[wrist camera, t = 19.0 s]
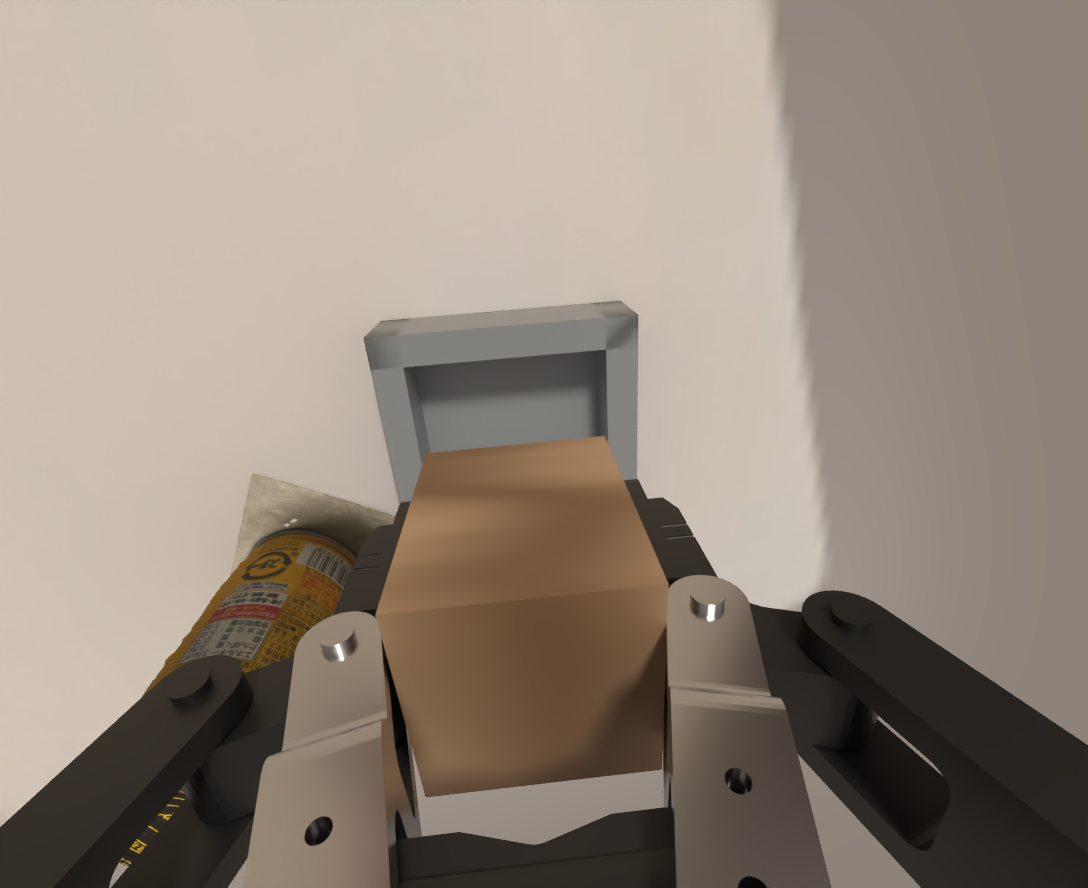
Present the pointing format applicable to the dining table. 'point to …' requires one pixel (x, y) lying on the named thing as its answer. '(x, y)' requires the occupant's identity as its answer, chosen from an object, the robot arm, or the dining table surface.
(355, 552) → the condiment
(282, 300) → the dining table surface
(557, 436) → the collection tray
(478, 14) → the dining table surface
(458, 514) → the walnut block
